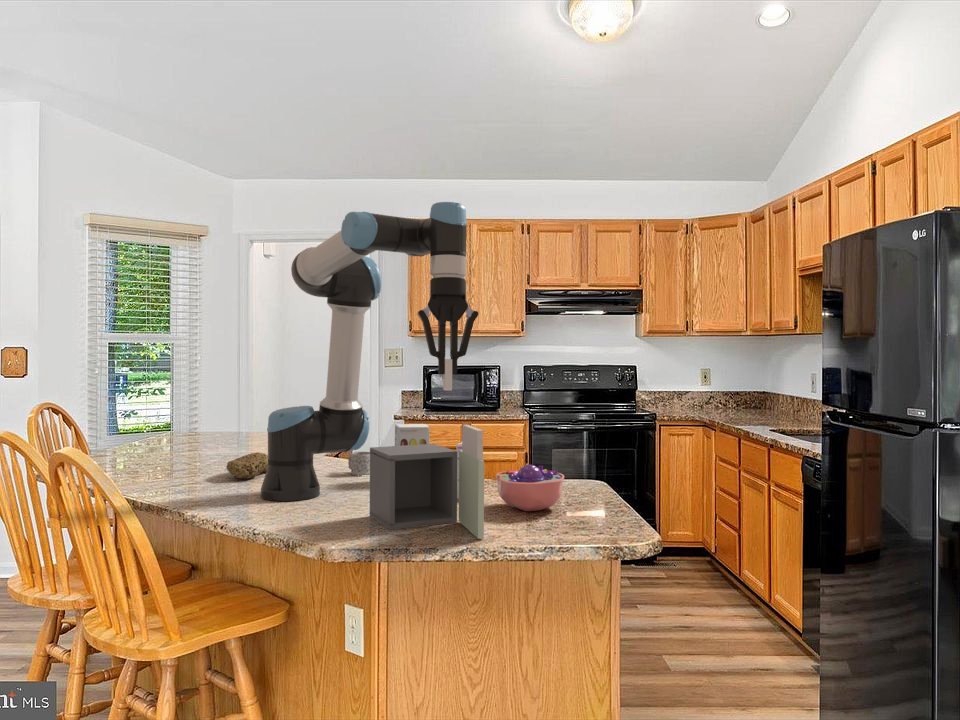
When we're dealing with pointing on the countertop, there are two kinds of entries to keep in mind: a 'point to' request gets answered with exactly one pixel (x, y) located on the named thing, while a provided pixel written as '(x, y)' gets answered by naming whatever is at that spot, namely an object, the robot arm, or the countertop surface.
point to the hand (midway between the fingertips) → (447, 390)
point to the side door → (471, 481)
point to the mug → (359, 463)
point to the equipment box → (413, 485)
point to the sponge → (248, 465)
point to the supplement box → (411, 434)
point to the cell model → (530, 487)
